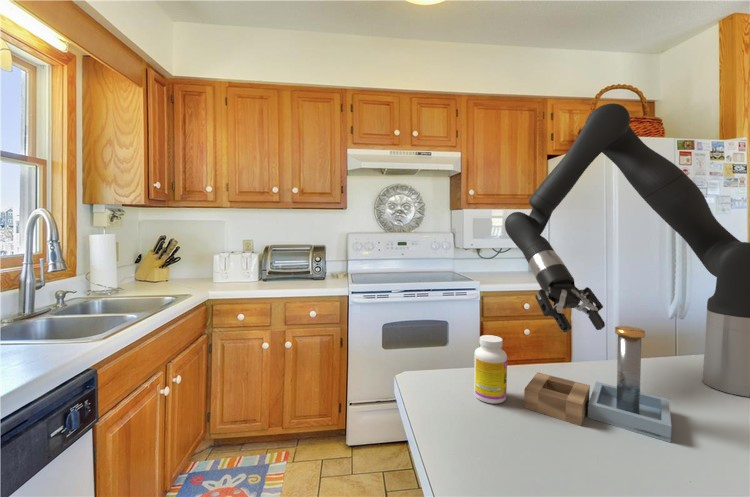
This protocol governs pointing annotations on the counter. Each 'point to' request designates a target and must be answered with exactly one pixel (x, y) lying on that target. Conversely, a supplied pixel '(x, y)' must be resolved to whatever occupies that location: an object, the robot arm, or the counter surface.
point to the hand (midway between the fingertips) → (585, 329)
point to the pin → (629, 368)
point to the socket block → (557, 398)
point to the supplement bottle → (490, 370)
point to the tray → (648, 422)
